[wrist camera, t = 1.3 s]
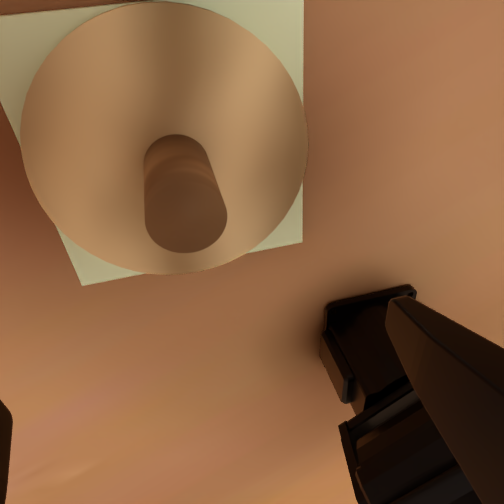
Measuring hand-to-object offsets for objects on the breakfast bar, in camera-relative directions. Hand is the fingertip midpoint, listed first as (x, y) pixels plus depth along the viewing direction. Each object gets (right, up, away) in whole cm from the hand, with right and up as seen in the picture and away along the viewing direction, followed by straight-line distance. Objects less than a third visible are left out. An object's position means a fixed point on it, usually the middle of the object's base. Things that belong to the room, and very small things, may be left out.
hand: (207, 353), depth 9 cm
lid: (-2, +6, +9) cm, 11 cm away
